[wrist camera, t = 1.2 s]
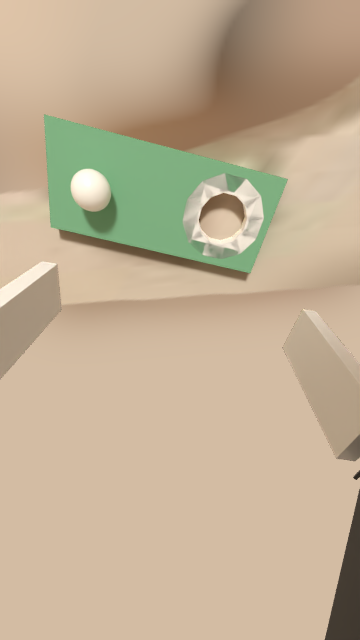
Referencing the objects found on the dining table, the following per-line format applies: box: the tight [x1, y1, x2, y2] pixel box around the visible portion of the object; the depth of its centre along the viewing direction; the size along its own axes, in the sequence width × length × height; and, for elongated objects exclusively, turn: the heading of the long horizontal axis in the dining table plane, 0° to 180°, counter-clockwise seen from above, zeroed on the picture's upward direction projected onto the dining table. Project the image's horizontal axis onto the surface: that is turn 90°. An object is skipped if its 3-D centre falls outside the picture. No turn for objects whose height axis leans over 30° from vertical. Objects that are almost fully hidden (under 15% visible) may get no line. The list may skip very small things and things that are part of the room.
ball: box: [71, 169, 111, 212], centre depth 29 cm, size 4×4×4 cm
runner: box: [44, 115, 288, 273], centre depth 32 cm, size 12×28×2 cm, turn 77°
